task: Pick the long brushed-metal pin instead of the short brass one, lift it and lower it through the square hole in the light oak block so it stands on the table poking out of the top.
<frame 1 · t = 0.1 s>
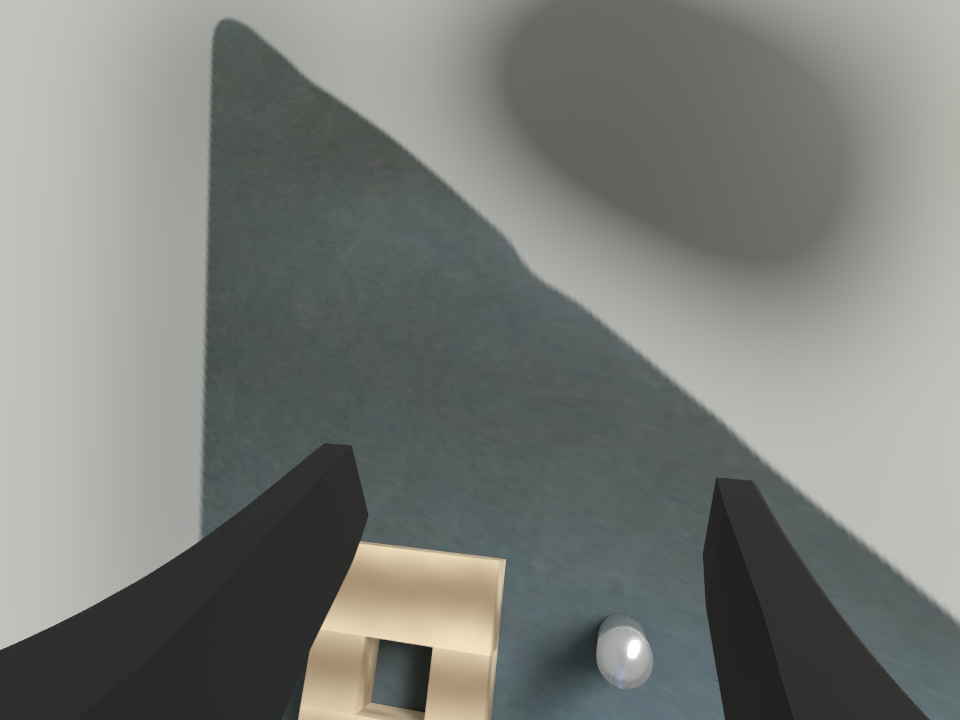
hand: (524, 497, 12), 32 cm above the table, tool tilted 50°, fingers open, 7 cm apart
hole block: (407, 671, 42), on the table
long pin: (621, 638, 40), on the table
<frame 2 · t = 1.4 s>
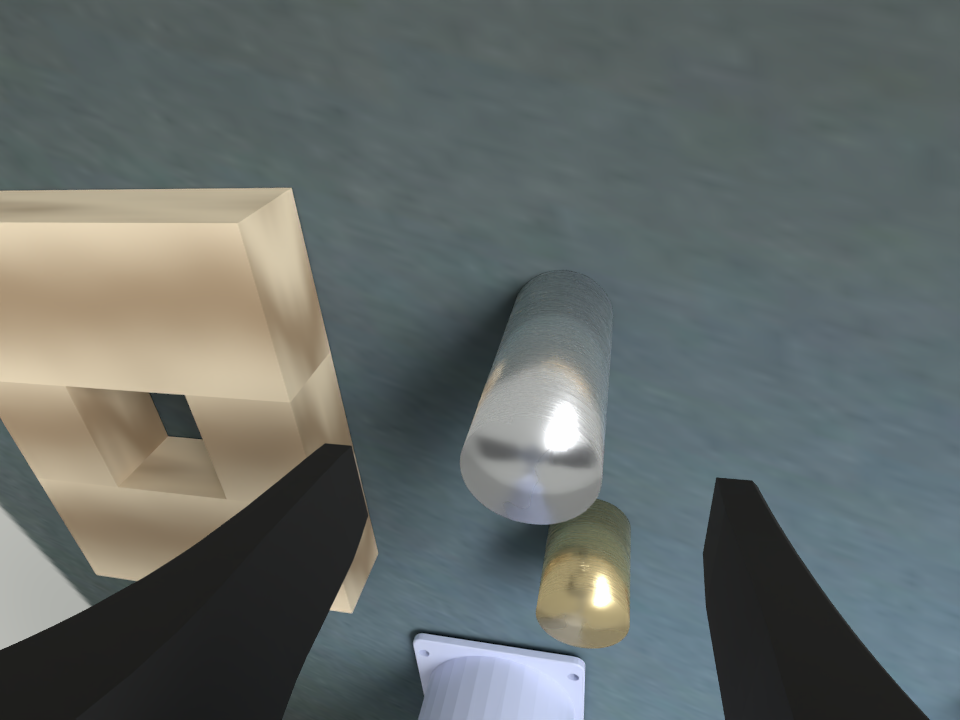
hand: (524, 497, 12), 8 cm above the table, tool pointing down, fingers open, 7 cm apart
hole block: (199, 394, 24), on the table
long pin: (562, 315, 19), on the table
short pin: (589, 526, 23), on the table
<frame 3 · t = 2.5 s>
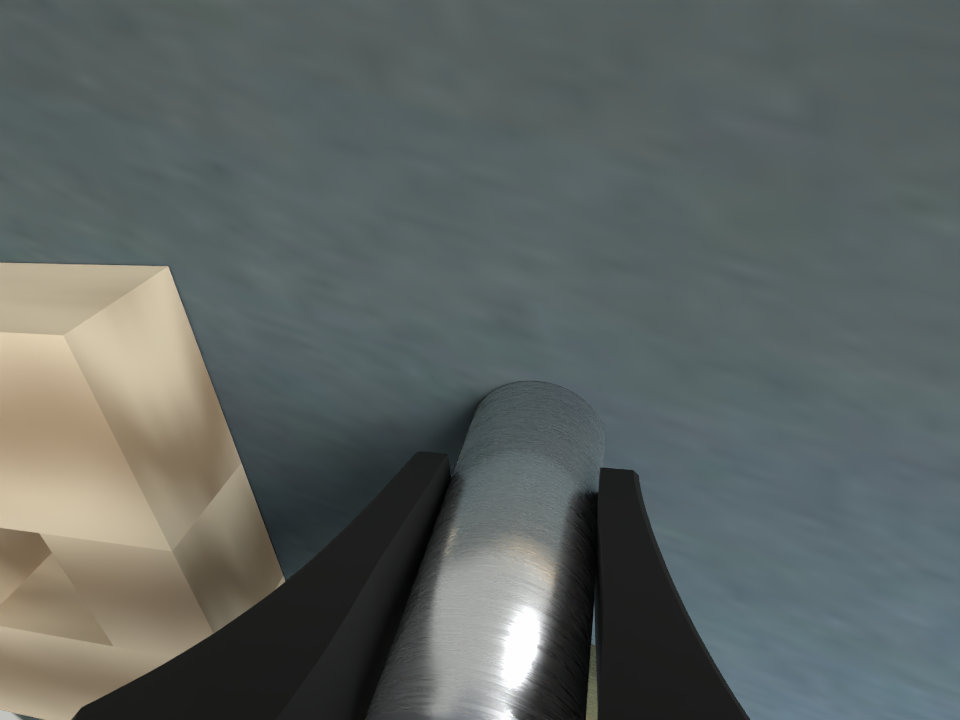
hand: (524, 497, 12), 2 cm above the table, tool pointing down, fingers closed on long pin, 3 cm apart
hole block: (89, 501, 19), on the table
long pin: (537, 436, 14), on the table, touching gripper
short pin: (577, 671, 18), on the table
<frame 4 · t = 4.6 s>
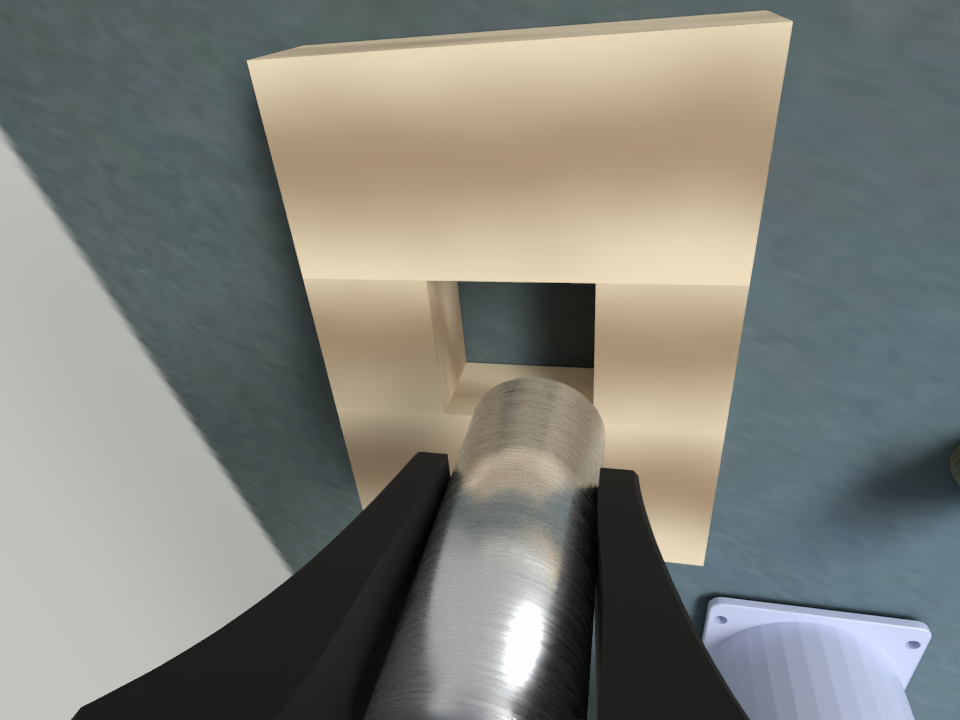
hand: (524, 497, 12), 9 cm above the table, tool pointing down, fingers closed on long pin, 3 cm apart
hole block: (528, 306, 20), on the table
long pin: (537, 432, 14), point 7 cm above the table, touching gripper
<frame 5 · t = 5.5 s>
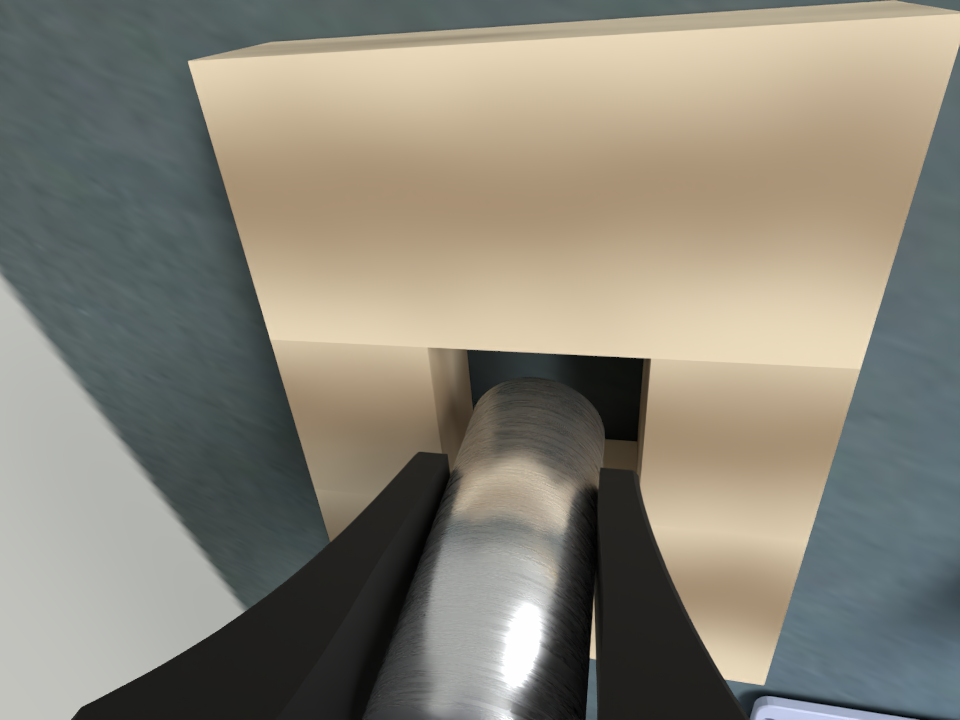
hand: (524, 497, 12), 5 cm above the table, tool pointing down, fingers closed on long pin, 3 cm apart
hole block: (552, 367, 16), on the table
long pin: (536, 432, 14), point 3 cm above the table, touching gripper
when the fingers open (4 cm above the table, at t = 6.4 s): long pin drops 2 cm, resting in hole block.
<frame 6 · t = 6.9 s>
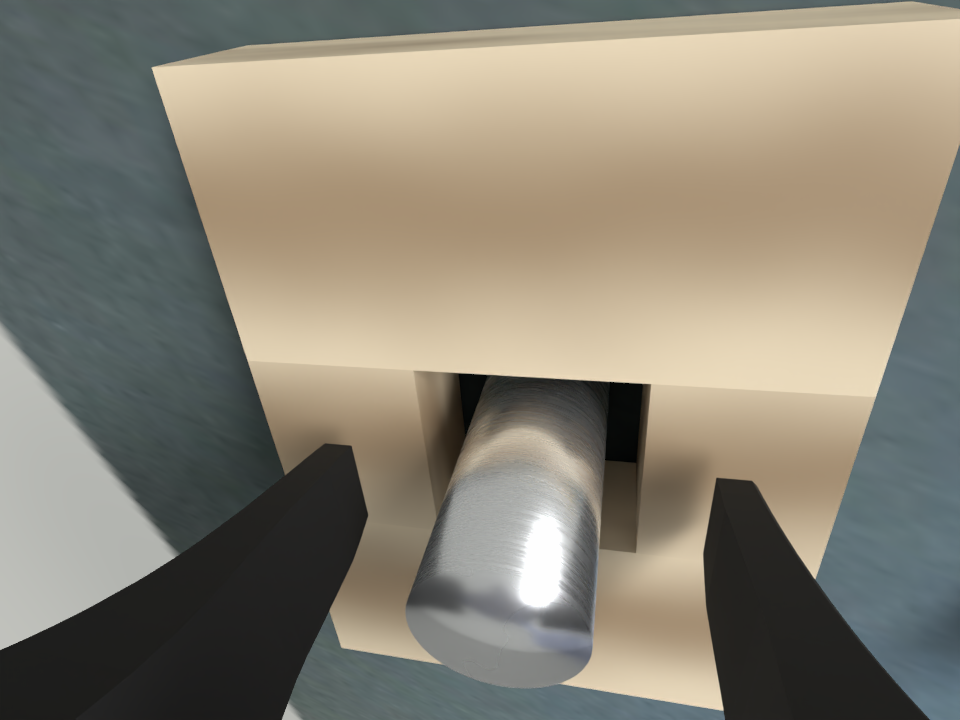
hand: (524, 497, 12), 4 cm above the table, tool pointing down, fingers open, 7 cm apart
hole block: (547, 386, 15), on the table
long pin: (548, 382, 15), resting in hole block
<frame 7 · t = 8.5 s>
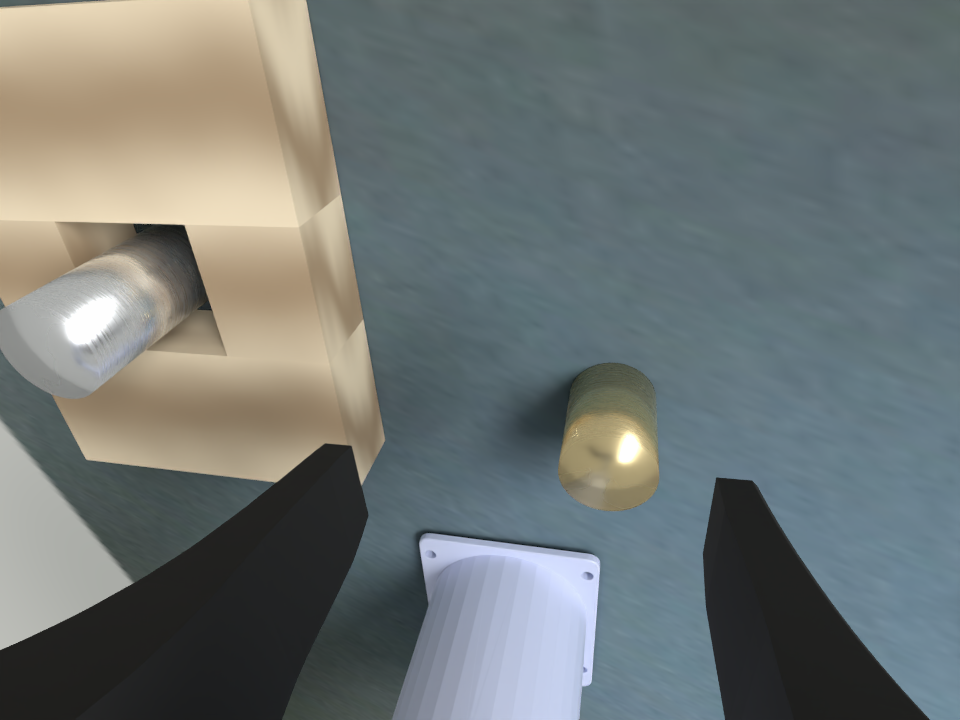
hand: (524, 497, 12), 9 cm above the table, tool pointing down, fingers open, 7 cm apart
hole block: (198, 254, 22), on the table
long pin: (198, 251, 22), resting in hole block
short pin: (612, 398, 22), on the table
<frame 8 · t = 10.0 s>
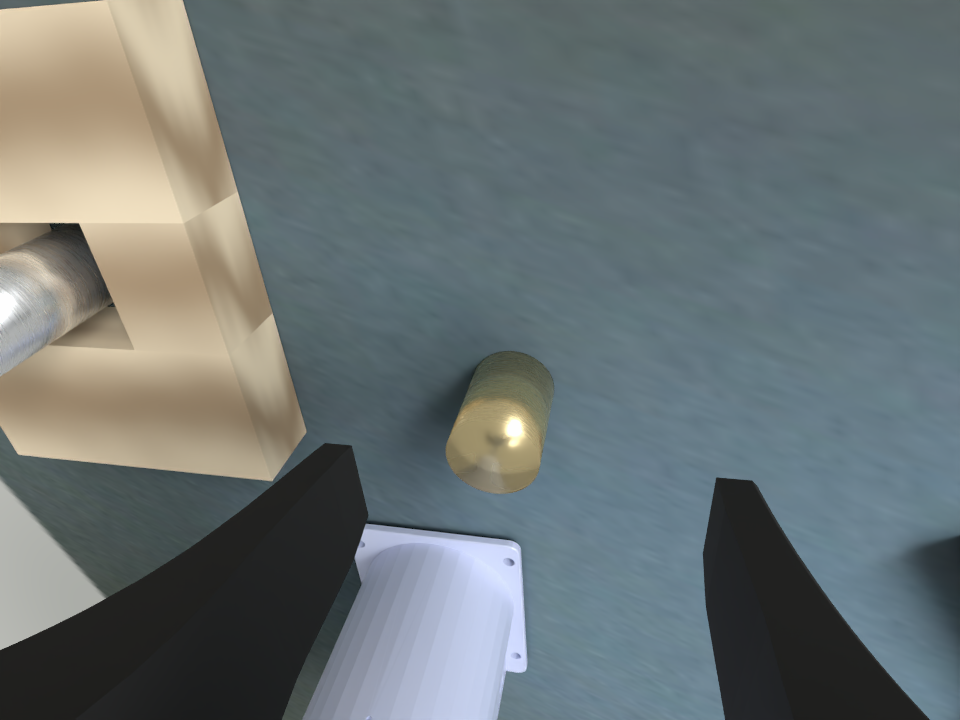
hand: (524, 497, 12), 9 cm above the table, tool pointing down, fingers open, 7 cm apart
hole block: (112, 253, 23), on the table
long pin: (112, 250, 23), resting in hole block
short pin: (513, 385, 23), on the table
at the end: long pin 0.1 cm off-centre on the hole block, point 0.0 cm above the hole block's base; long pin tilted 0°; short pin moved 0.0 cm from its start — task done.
